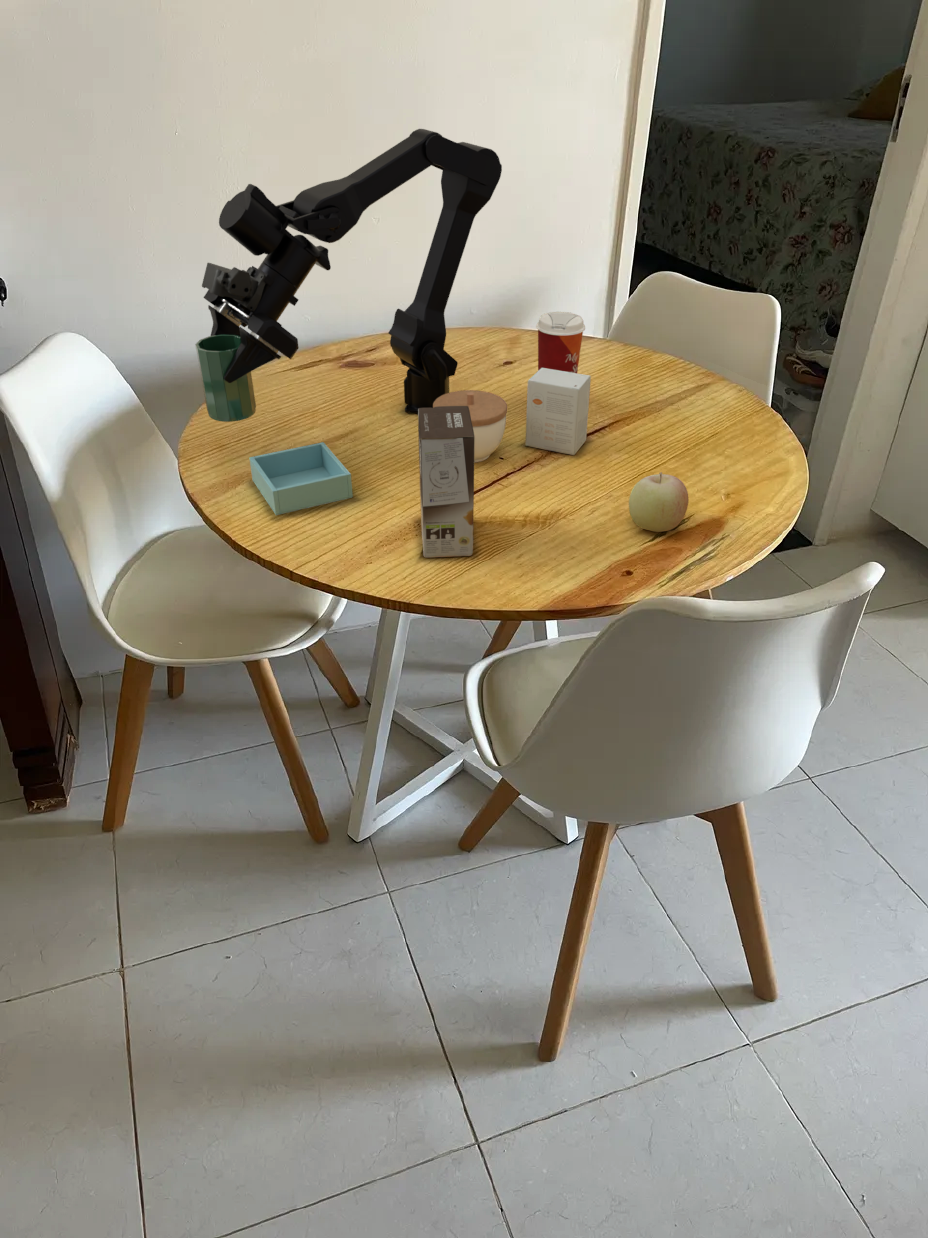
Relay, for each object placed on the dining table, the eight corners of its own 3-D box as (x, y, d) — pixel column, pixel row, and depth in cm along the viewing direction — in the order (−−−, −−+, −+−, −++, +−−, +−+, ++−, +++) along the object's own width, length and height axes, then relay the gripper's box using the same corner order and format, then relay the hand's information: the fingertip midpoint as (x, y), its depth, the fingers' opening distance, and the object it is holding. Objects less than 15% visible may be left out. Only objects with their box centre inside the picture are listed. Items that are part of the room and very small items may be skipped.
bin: (325, 467, 133) (323, 441, 130) (353, 500, 125) (351, 473, 123) (252, 483, 129) (249, 457, 126) (276, 518, 121) (272, 491, 119)
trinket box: (418, 455, 136) (417, 395, 130) (465, 431, 142) (465, 373, 137) (474, 477, 130) (475, 415, 125) (520, 451, 137) (523, 391, 131)
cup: (265, 410, 131) (255, 341, 125) (230, 426, 126) (218, 355, 120) (234, 398, 134) (223, 330, 128) (198, 413, 130) (185, 344, 124)
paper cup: (576, 414, 147) (583, 328, 139) (528, 410, 149) (533, 324, 140) (581, 395, 154) (588, 311, 145) (535, 391, 155) (540, 308, 146)
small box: (586, 441, 140) (592, 374, 133) (574, 456, 136) (580, 388, 129) (537, 431, 142) (541, 365, 136) (524, 446, 138) (527, 379, 132)
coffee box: (474, 556, 114) (476, 437, 104) (423, 558, 113) (419, 439, 104) (468, 519, 121) (469, 404, 111) (419, 520, 121) (416, 405, 111)
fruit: (665, 547, 116) (674, 491, 111) (616, 527, 120) (622, 472, 115) (695, 523, 120) (705, 469, 116) (647, 505, 124) (654, 451, 119)
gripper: (206, 223, 124) (143, 320, 126) (265, 255, 112) (194, 362, 114) (267, 273, 133) (207, 363, 134) (328, 308, 120) (261, 407, 122)
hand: (216, 372), depth 126 cm, fingers closed on cup, 7 cm apart
